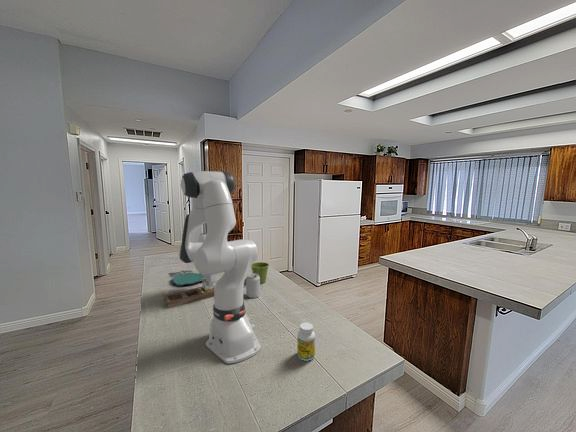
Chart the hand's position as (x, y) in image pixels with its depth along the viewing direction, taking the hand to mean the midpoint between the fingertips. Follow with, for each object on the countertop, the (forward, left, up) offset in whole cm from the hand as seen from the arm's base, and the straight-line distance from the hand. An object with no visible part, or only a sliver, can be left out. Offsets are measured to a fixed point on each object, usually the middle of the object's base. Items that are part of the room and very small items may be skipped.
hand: (207, 285), depth 137 cm
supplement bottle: (-71, -12, -5) cm, 72 cm away
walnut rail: (0, +8, -5) cm, 10 cm away
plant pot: (-2, -32, -5) cm, 33 cm away
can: (-17, -20, -5) cm, 26 cm away
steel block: (0, 0, -5) cm, 5 cm away
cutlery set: (+31, +4, -5) cm, 31 cm away
